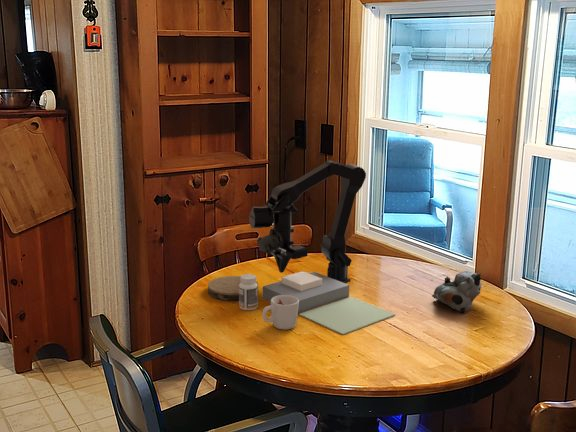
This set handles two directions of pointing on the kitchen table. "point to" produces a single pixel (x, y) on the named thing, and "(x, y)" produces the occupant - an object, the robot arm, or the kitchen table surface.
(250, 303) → the pill bottle
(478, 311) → the kitchen table surface
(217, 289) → the grey brown round disc
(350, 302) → the rubber mat
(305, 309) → the gray rectangular block
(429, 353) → the kitchen table surface
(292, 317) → the cup
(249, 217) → the robot arm
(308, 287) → the ceramic tile
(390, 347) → the kitchen table surface
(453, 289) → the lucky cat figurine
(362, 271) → the kitchen table surface
